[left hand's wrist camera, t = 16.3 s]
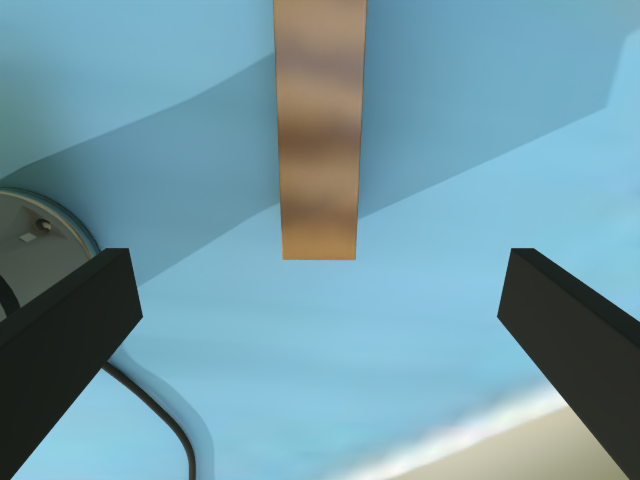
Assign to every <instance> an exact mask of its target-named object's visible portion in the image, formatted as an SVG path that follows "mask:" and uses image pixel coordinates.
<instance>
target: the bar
mask: <svg viewBox="0 0 640 480" xmlns="http://www.w3.org/2000/svg"><path fill="white" fill-rule="evenodd" d="M273 10H274V38H275V66H276V93H277V121H278V149H279V177H280V204H281V232H282V259H283V260H355V259H356V237H357V214H358V192H359V170H360V147H361V125H362V103H363V80H364V58H365V35H366V13H367V0H273Z"/></svg>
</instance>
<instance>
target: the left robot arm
mask: <svg viewBox="0 0 640 480" xmlns="http://www.w3.org/2000/svg"><path fill="white" fill-rule="evenodd" d="M142 318H143V315H142V310H141V305H140V300H139V296H138V291H137V286H136V281H135V276H134V272H133V267H132V262H131V257H130V253H129V248H106V249H104V250H103V251H102V252H99V249H98V247H97V245H96V243H95V241H94V240H93V238H92V236H91V235H90V233H89V232H88V231H87V229H86V228H85V227H84V226H83V225H82V224H81V222H80V221H79V220H78V219H76V218H75V217H74V216H73V215H72V214H71V213H70V212H69V211H67V210H66V209H65V208H63V207H62V206H60V205H59V204H57V203H55V202H54V201H52V200H50V199H48V198H46V197H44V196H41V195H39V194H36V193H33V192H30V191H27V190H22V189H17V188H5V187H2V188H0V480H11V478H12V477H13V476H14V475H15V473H16V472H17V471H18V470H19V469H20V467H21V466H22V465H23V464H24V462H25V461H26V460H27V459H28V457H29V456H30V455H31V454H32V453H33V451H34V450H35V449H36V448H37V446H38V445H39V444H40V443H41V442H42V440H43V439H44V438H45V437H46V435H47V434H48V433H49V432H50V430H51V429H52V428H53V427H54V426H55V424H56V423H57V422H58V421H59V419H60V418H61V417H62V416H63V414H64V413H65V412H66V411H67V410H68V408H69V407H70V406H71V405H72V403H73V402H74V401H75V400H76V399H77V397H78V396H79V395H80V394H81V392H82V391H83V390H84V389H85V387H86V386H87V385H88V384H89V383H90V381H91V380H92V379H93V378H94V376H95V375H96V374H97V373H98V372H99V370H100V369H101V368H102V369H104V370H105V371H106V372H108V373H109V374H110V375H111V376H113V377H114V378H115V379H117V380H118V381H119V382H121V383H122V384H123V385H125V386H126V387H127V388H128V389H130V390H131V391H132V392H133V393H134V394H136V395H137V396H138V397H139V398H140V399H141V400H142V401H143V402H145V403H146V404H147V405H148V406H149V407H150V408H151V409H152V410H153V411H154V412H155V413H156V414H157V415H158V416H159V417H160V418H161V419H162V420H163V421H164V422H165V423H166V424H167V425H168V426H169V427H170V428H171V429H172V430H173V431H174V432H175V434H176V435H177V436H178V438H179V439H180V441H181V443H182V444H183V446H184V448H185V451H186V453H187V456H188V461H189V480H195V457H194V452H193V449H192V446H191V444H190V442H189V440H188V438H187V436H186V435H185V433H184V432H183V430H182V429H181V428H180V426H179V425H178V424H177V423H176V422H175V421H174V419H173V418H172V417H171V416H170V415H169V414H168V413H167V412H166V411H165V410H164V409H162V408H161V407H160V406H159V405H158V404H157V403H156V402H155V401H154V400H153V399H152V398H151V397H150V396H149V395H148V394H147V393H146V392H145V391H143V390H142V389H141V388H140V387H139V386H138V385H136V384H135V383H134V382H133V381H131V380H130V379H129V378H128V377H126V376H125V375H124V374H123V373H121V372H120V371H119V370H117V369H116V368H115V367H113V366H112V365H111V364H110V363H108V362H107V360H108V359H109V358H110V357H111V356H112V354H113V353H114V352H115V351H116V349H117V348H118V347H119V346H120V345H121V343H122V342H123V341H124V340H125V338H126V337H127V336H128V335H129V333H130V332H131V331H132V330H133V329H134V327H135V326H136V325H137V324H138V322H139V321H140V320H141V319H142ZM497 318H498V319H499V320H500V321H501V322H502V324H503V325H504V326H505V327H506V329H507V330H508V331H509V332H510V333H511V335H512V336H513V337H514V338H515V340H516V341H517V342H518V343H519V345H520V346H521V347H522V348H523V349H524V351H525V352H526V353H527V354H528V356H529V357H530V358H531V359H532V360H533V362H534V363H535V364H536V365H537V367H538V368H539V369H540V370H541V372H542V373H543V374H544V375H545V376H546V378H547V379H548V380H549V381H550V383H551V384H552V385H553V386H554V387H555V389H556V390H557V391H558V392H559V394H560V395H561V396H562V397H563V399H564V400H565V401H566V402H567V403H568V405H569V406H570V407H571V408H572V410H573V411H574V412H575V413H576V414H577V416H578V417H579V418H580V419H581V421H582V422H583V423H584V424H585V425H586V427H587V428H588V429H589V430H590V432H591V433H592V434H593V435H594V437H595V438H596V439H597V440H598V442H599V443H600V444H601V445H602V446H603V448H604V449H605V450H606V451H607V453H608V454H609V455H610V456H611V457H612V459H613V460H614V461H615V462H616V464H617V465H618V466H619V467H620V469H621V470H622V471H623V472H624V473H625V475H626V476H627V477H628V478H629V480H640V322H639V321H638V320H636V319H635V318H633V317H632V316H630V315H629V314H628V313H626V312H625V311H623V310H622V309H620V308H619V307H617V306H616V305H615V304H613V303H612V302H610V301H609V300H607V299H606V298H605V297H603V296H602V295H600V294H599V293H597V292H596V291H594V290H593V289H592V288H590V287H589V286H587V285H586V284H584V283H583V282H582V281H580V280H579V279H577V278H576V277H574V276H573V275H571V274H570V273H569V272H567V271H566V270H564V269H563V268H561V267H560V266H559V265H557V264H556V263H554V262H553V261H551V260H550V259H548V258H547V257H546V256H544V255H543V254H541V253H540V252H538V251H537V250H536V249H534V248H511V253H510V257H509V262H508V267H507V272H506V276H505V281H504V286H503V291H502V296H501V300H500V305H499V310H498V315H497Z"/></svg>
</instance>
